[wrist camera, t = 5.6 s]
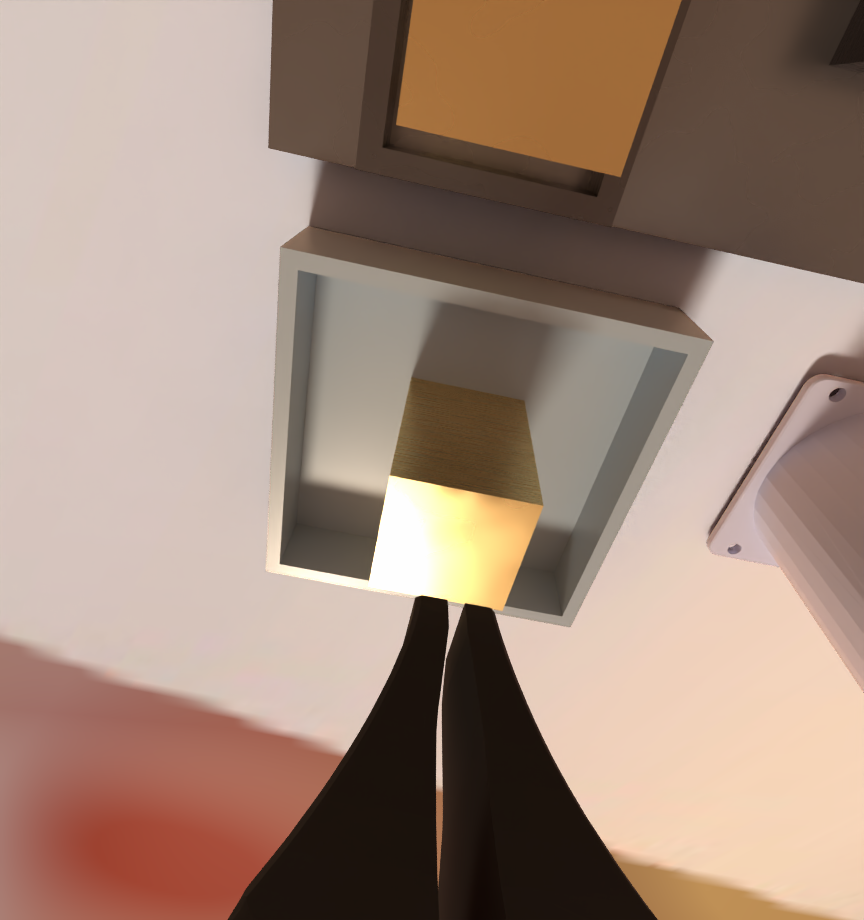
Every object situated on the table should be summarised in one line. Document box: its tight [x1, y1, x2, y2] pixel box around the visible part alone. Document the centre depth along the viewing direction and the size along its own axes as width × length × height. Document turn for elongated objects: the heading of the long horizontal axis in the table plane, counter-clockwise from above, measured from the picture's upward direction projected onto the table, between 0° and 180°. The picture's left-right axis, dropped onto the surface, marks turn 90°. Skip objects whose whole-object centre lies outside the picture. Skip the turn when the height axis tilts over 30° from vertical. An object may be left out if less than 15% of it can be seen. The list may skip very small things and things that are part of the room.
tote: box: [266, 226, 714, 627], centre depth 19 cm, size 12×12×3 cm
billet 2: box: [369, 377, 544, 611], centre depth 18 cm, size 4×4×6 cm
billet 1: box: [396, 0, 682, 177], centre depth 11 cm, size 4×4×6 cm
